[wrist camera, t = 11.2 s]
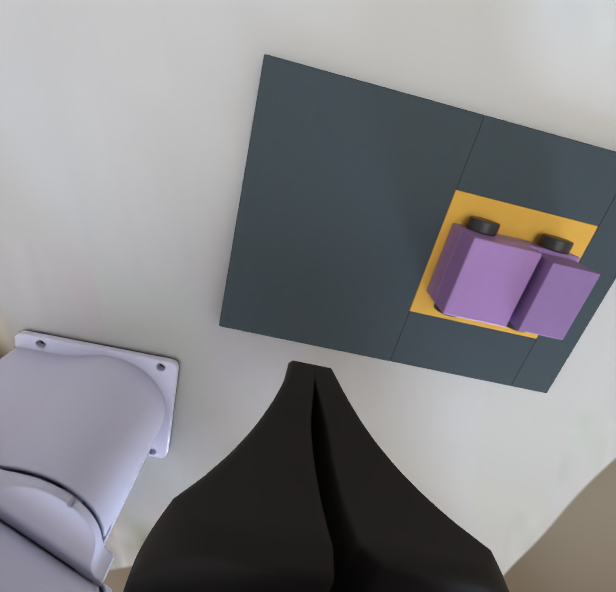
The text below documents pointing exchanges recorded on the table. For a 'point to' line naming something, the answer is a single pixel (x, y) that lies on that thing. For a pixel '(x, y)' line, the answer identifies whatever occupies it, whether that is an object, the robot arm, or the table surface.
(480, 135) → the play mat
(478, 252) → the toy truck
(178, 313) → the table surface
